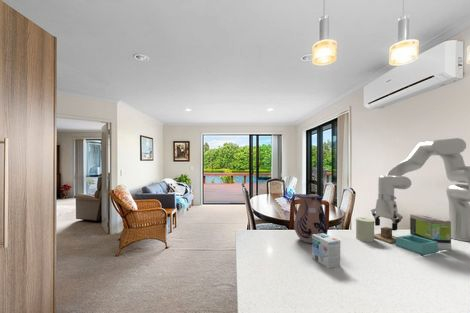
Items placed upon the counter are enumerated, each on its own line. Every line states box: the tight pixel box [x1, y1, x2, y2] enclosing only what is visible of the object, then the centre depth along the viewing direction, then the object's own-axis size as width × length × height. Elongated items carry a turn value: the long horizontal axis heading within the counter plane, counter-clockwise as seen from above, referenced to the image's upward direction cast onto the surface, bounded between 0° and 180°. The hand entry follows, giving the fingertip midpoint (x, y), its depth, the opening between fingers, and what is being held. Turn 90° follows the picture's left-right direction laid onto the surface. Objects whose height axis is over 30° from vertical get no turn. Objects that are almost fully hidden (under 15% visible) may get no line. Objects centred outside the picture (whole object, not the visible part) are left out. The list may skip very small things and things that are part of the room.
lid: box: [374, 226, 397, 244], centre depth 127 cm, size 12×12×6 cm
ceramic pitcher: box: [290, 193, 329, 244], centre depth 125 cm, size 18×21×25 cm
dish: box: [395, 234, 439, 257], centre depth 113 cm, size 12×12×5 cm
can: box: [355, 217, 375, 243], centre depth 126 cm, size 9×9×12 cm
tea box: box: [409, 213, 452, 251], centre depth 120 cm, size 15×10×15 cm
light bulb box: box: [311, 233, 341, 269], centre depth 98 cm, size 11×7×11 cm, turn 19°
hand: (385, 227), depth 127 cm, fingers open, 9 cm apart
